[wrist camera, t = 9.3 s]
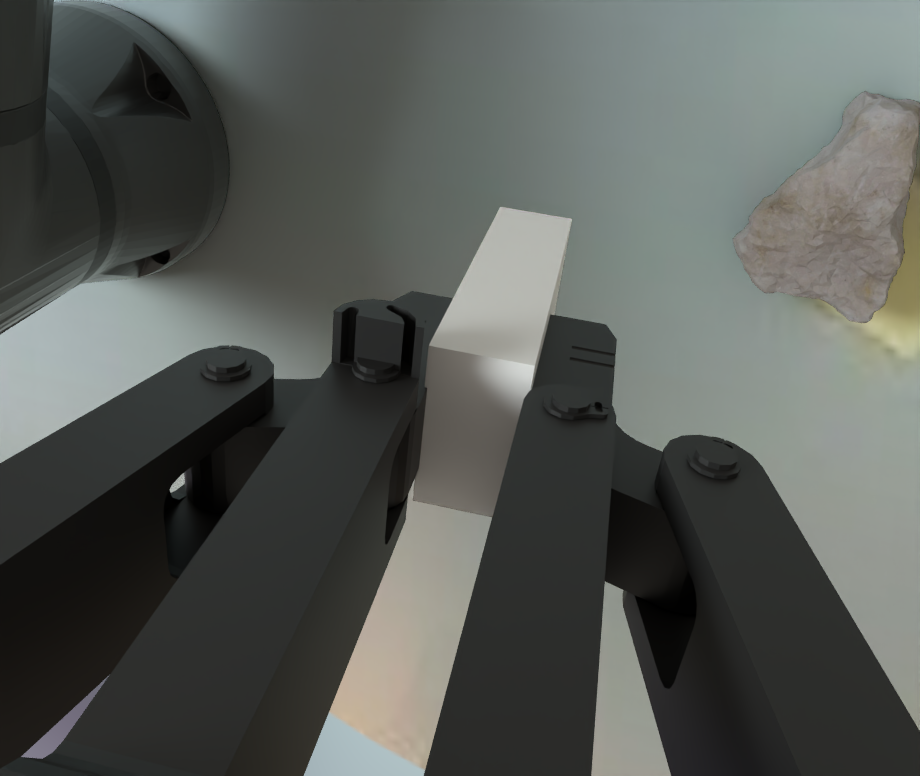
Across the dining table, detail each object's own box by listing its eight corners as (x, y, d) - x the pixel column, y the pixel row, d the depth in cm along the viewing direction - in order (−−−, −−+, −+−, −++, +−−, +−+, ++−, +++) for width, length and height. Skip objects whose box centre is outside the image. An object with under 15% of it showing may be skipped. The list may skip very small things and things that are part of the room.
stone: (780, 70, 39) (797, 91, 34) (957, 101, 38) (1001, 127, 33) (719, 263, 44) (726, 306, 39) (874, 295, 43) (902, 343, 38)
